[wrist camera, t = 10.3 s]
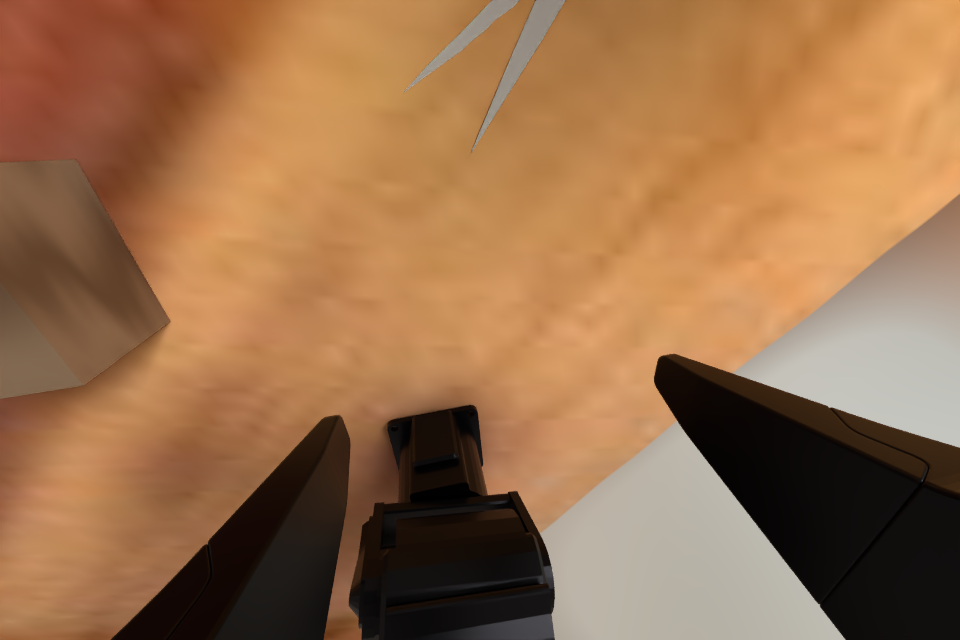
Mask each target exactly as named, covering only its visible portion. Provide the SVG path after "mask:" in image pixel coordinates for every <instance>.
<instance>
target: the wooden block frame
mask: <svg viewBox="0 0 960 640" xmlns="http://www.w3.org/2000/svg"><path fill="white" fill-rule="evenodd" d="M169 322H170V320H169V318H168V317H167V315H166V313H165V311H164V310H163V308H162V306H161V305H160V303H159V301H158V299H157V298H156V296H155V294H154V293H153V291H152V289H151V287H150V286H149V284H148V282H147V281H146V279H145V277H144V275H143V274H142V272H141V270H140V269H139V267H138V265H137V264H136V262H135V260H134V258H133V257H132V255H131V253H130V252H129V250H128V248H127V246H126V245H125V243H124V241H123V240H122V238H121V236H120V234H119V233H118V231H117V229H116V228H115V226H114V224H113V222H112V221H111V219H110V217H109V216H108V214H107V212H106V210H105V209H104V207H103V205H102V204H101V202H100V200H99V198H98V197H97V195H96V193H95V192H94V190H93V188H92V186H91V185H90V183H89V181H88V180H87V178H86V176H85V175H84V173H83V171H82V169H81V168H80V166H79V164H78V163H77V161H76V159H71V160H48V161H25V162H2V163H0V399H3V398H9V397H15V396H22V395H28V394H34V393H40V392H47V391H53V390H59V389H66V388H72V387H78V386H84V385H85V384H87V383H88V382H89V381H91V380H92V379H93V378H95V377H96V376H98V375H99V374H100V373H102V372H103V371H104V370H106V369H107V368H108V367H110V366H111V365H112V364H114V363H115V362H116V361H118V360H119V359H120V358H122V357H123V356H124V355H126V354H127V353H129V352H130V351H131V350H133V349H134V348H135V347H137V346H138V345H139V344H141V343H142V342H143V341H145V340H146V339H147V338H149V337H150V336H151V335H153V334H154V333H156V332H157V331H158V330H160V329H161V328H162V327H164V326H165V325H166V324H168V323H169Z"/></svg>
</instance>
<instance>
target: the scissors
mask: <svg viewBox="0 0 960 640" xmlns="http://www.w3.org/2000/svg"><path fill="white" fill-rule="evenodd" d="M518 1H519V0H492V1H491V2H490V3H489V4H488V5H487V6H486V7H485V8H484V9H483V10H482V11H481V12H480V13H479V14H478V15H477V16H476V17H475V18H474V19H473V20H472V22H471V23H470V24H469V25H468V26H467V27H466V28H465V29H464V30H463V31H462V32H461V33H460V34H459V35H458V36H457V37H456V38H455V39H454V40H453V41H452V42H451V43H450V44H449V45H448V46H447V47H446V48H445V49H444V50H443V51H442V52H441V53H440V54H439V55H438V56H437V57H436V58H434V59H433V60H432V61H431V62H430V63H429V64H428V66H427V67H426V68H425V69H424V70H423V71H422V72H421V73H420V74H419V76H418V77H417V78H416V79H415V80H414V81H413V82H412V83H411V84H410V86H409V87H408V88H407V89H406V90H408V89H409V88H410V87H412V86H413V85H415V84H416V83H417V82H419V81H420V80H421V79H423V78H424V77H426V76H427V75H428V74H430V73H431V72H433V71H434V70H435V69H437V68H438V67H440V66H441V65H442V64H444V63H445V62H446V61H448V60H449V59H451V58H452V57H453V56H455V55H456V54H458V53H459V52H460V51H462V50H463V49H464V48H465V47H466V46H467V45H468V44H469V43H470V42H471V41H473V40H474V39H475V38H476V37H478V36H479V35H480V34H481V33H482V32H484V31H485V30H486V29H487V28H488V27H489V26H490V25H491V24H492V23H493V21H495V20H496V19H497V18H499V17H500V16H502V15H503V14H504V13H506V12H507V11H508V10H510V9H511V8H513V7H514V6H515V5H516V4H517V2H518ZM564 2H565V0H536V1H535V3H534V6H533V8H532V10H531V13H530V15H529V17H528V19H527V22H526V24H525V26H524V29H523V31H522V33H521V35H520V38H519V40H518V42H517V45H516V47H515V49H514V51H513V54H512V56H511V58H510V61H509V63H508V65H507V68H506V70H505V73H504V75H503V77H502V80H501V82H500V85H499V87H498V89H497V92H496V94H495V97H494V99H493V101H492V104H491V106H490V109H489V111H488V113H487V116H486V118H485V120H484V123H483V125H482V128H481V130H480V132H479V135H478V137H477V140H476V142H475V144H474V147H473V149H474V148H475V146H476V145H477V143H478V141H479V140H480V138H481V137H482V135H483V133H484V132H485V130H486V129H487V127H488V125H489V124H490V122H491V121H492V119H493V117H494V116H495V114H496V113H497V111H498V110H499V108H500V106H501V105H502V103H503V102H504V100H505V98H506V97H507V95H508V94H509V92H510V90H511V89H512V87H513V86H514V84H515V82H516V81H517V79H518V78H519V76H520V74H521V73H522V71H523V70H524V68H525V66H526V65H527V63H528V62H529V60H530V58H531V57H532V55H533V54H534V52H535V50H536V49H537V47H538V46H539V44H540V42H541V41H542V39H543V38H544V36H545V34H546V32H547V31H548V29H549V27H550V26H551V24H552V22H553V21H554V19H555V17H556V16H557V14H558V12H559V10H560V9H561V7H562V5H563V4H564ZM406 90H405V91H406ZM405 91H404V92H405ZM473 149H472V151H473ZM471 153H472V152H471Z"/></svg>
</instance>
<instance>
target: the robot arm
mask: <svg viewBox="0 0 960 640" xmlns="http://www.w3.org/2000/svg"><path fill="white" fill-rule="evenodd" d="M654 383H655V386H656V388H657V389H658V391H659V393H660V394H661V396H662V397H663V399H664V400H665V402H666V404H667V405H668V407H669V408H670V410H671V411H672V413H673V415H674V416H675V418H676V419H677V421H678V423H679V424H680V426H681V427H682V429H683V430H684V431H685V433H686V434H687V435H688V437H689V438H690V440H691V441H692V442H693V443H694V445H695V446H696V447H697V449H698V450H699V451H700V452H701V454H702V455H703V456H704V457H705V459H706V460H707V461H708V463H709V464H710V465H711V466H712V468H713V469H714V470H715V472H716V473H717V474H718V476H719V477H720V478H721V479H722V481H723V482H724V483H725V485H726V486H727V487H728V488H729V490H730V491H731V492H732V493H733V495H734V496H735V497H736V499H737V500H738V501H739V503H740V504H741V505H742V506H743V508H744V509H745V510H746V512H747V513H748V514H749V515H750V516H751V518H752V519H753V521H754V522H755V523H756V525H757V526H758V527H759V528H760V530H761V531H762V532H763V533H764V535H765V536H766V537H767V539H768V540H769V541H770V543H771V544H772V545H773V546H774V548H775V549H776V550H777V551H778V553H779V554H780V555H781V557H782V558H783V559H784V561H785V562H786V563H787V564H788V566H789V567H790V568H791V570H792V571H793V572H794V573H795V575H796V576H797V577H798V579H799V580H800V581H801V582H802V584H803V585H804V586H805V588H806V589H807V590H808V591H809V592H810V594H811V595H812V597H813V598H814V599H815V601H816V602H817V603H818V604H820V607H821V609H822V610H823V611H824V612H825V614H826V615H827V616H828V618H829V619H830V620H831V621H832V623H833V624H834V625H835V627H836V628H837V629H838V631H839V632H840V633H841V634H842V636H843V637H844V638H845V639H846V640H960V448H958V447H955V446H952V445H949V444H945V443H942V442H939V441H935V440H932V439H929V438H925V437H921V436H919V435H915V434H912V433H909V432H906V431H902V430H899V429H896V428H892V427H889V426H886V425H883V424H880V423H877V422H874V421H871V420H868V419H865V418H862V417H858V416H856V415H853V414H849V413H846V412H844V411H841V410H838V409H835V408H829V407H828V406H826V405H823V404H820V403H817V402H814V401H811V400H808V399H805V398H803V397H800V396H797V395H794V394H791V393H788V392H785V391H782V390H779V389H776V388H773V387H770V386H767V385H764V384H762V383H759V382H756V381H753V380H750V379H747V378H744V377H741V376H738V375H735V374H732V373H729V372H726V371H723V370H720V369H718V368H715V367H712V366H709V365H706V364H703V363H700V362H697V361H694V360H691V359H688V358H685V357H682V356H679V355H677V354H669V355H663V356H661V357H659V359H658V361H657V366H656V371H655V375H654ZM469 412H472V413H469ZM393 426H397V427H393ZM388 434H389V437H390V441H391V444H392V448H393V451H394V455H395V458H396V462H397V465H398V469H399V499H398V503H391V504H384V502H383V503H375V505H374V513H373V516H370V518H369V521H368V522H366V523H365V524H364V525H362V533H361V542H360V549H359V555H358V560H357V564H356V568H355V573H354V577H353V581H352V585H351V589H350V595H349V607H350V608H351V609H352V610H353V612H354V613H355V614H356V615H357V617H358V618H359V629H362V640H555V638H554V630H553V623H552V616H551V614H552V612H553V608H554V599H555V591H554V580H553V573H552V567H551V563H550V559H549V555H548V552H547V549H546V546H545V544H544V542H543V539H542V537H541V536H540V534H539V532H538V530H537V528H536V526H535V524H534V522H533V520H532V519H531V517H530V515H529V513H528V511H527V509H526V507H525V505H524V504H523V502H522V500H521V498H520V496H519V494H518V492H517V491H513V492H508V494H497V495H488V494H487V490H486V485H485V481H484V476H483V472H482V466H483V458H482V448H481V439H480V429H479V420H478V412H477V408H476V407H475V406H473V405H469V406H463V407H458V408H453V409H447V410H442V411H437V412H431V413H426V414H421V415H416V416H410V417H405V418H400V419H394V420H391V421H390V422H389V423H388ZM349 461H350V438H349V435H348V432H347V429H346V426H345V424H344V421H343V418H342V417H341V416H340V415H334V416H329V417H325V418H323V419H322V420H321V421H320V422H319V423H318V424H317V425H316V426H315V427H314V428H313V429H312V430H311V431H310V432H309V433H308V435H307V436H306V437H305V438H304V439H303V440H302V441H301V442H300V443H299V444H298V445H297V446H296V447H295V448H294V450H293V451H292V452H291V453H290V454H289V455H288V456H287V457H286V458H285V459H284V460H283V461H282V462H281V463H280V465H279V466H278V467H277V468H276V469H275V470H274V471H273V472H272V473H271V474H270V475H269V476H268V477H267V478H266V480H265V481H264V482H263V483H262V484H261V485H260V486H259V487H258V488H257V489H256V490H255V491H254V492H253V493H252V495H251V496H250V497H249V498H248V499H247V500H246V501H245V502H244V503H243V504H242V505H241V506H240V507H239V508H238V510H237V511H236V512H235V513H234V514H233V515H232V516H231V517H230V518H229V519H228V520H227V521H226V522H225V523H224V525H223V526H222V527H221V528H220V529H219V530H218V531H217V532H216V533H215V534H214V535H213V536H212V537H211V538H210V540H209V541H208V544H206V545H204V546H203V547H202V548H201V549H200V550H199V551H198V552H197V553H196V554H195V555H194V557H193V558H192V559H191V560H190V561H189V562H188V563H187V564H186V565H185V566H184V567H183V568H182V569H181V570H180V571H179V572H178V573H177V574H176V575H175V576H174V577H173V579H172V580H171V581H170V582H169V583H168V584H167V585H166V586H165V587H164V588H163V589H162V590H161V591H160V592H159V593H158V594H157V595H156V596H155V597H154V598H153V599H152V600H151V601H150V602H149V603H148V604H147V605H146V606H145V607H144V608H143V609H142V610H141V611H140V612H139V613H138V614H137V615H136V616H135V617H134V618H133V619H132V620H131V621H130V622H128V623H127V624H126V625H125V626H124V627H123V628H122V629H121V630H120V631H119V632H118V633H117V634H116V635H115V636H114V637H113V638H112V639H111V640H323V639H324V633H325V628H326V622H327V616H328V610H329V605H330V599H331V593H332V587H333V582H334V576H335V570H336V564H337V559H338V553H339V547H340V541H341V536H342V530H343V524H344V518H345V513H346V506H347V495H348V478H349Z"/></svg>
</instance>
